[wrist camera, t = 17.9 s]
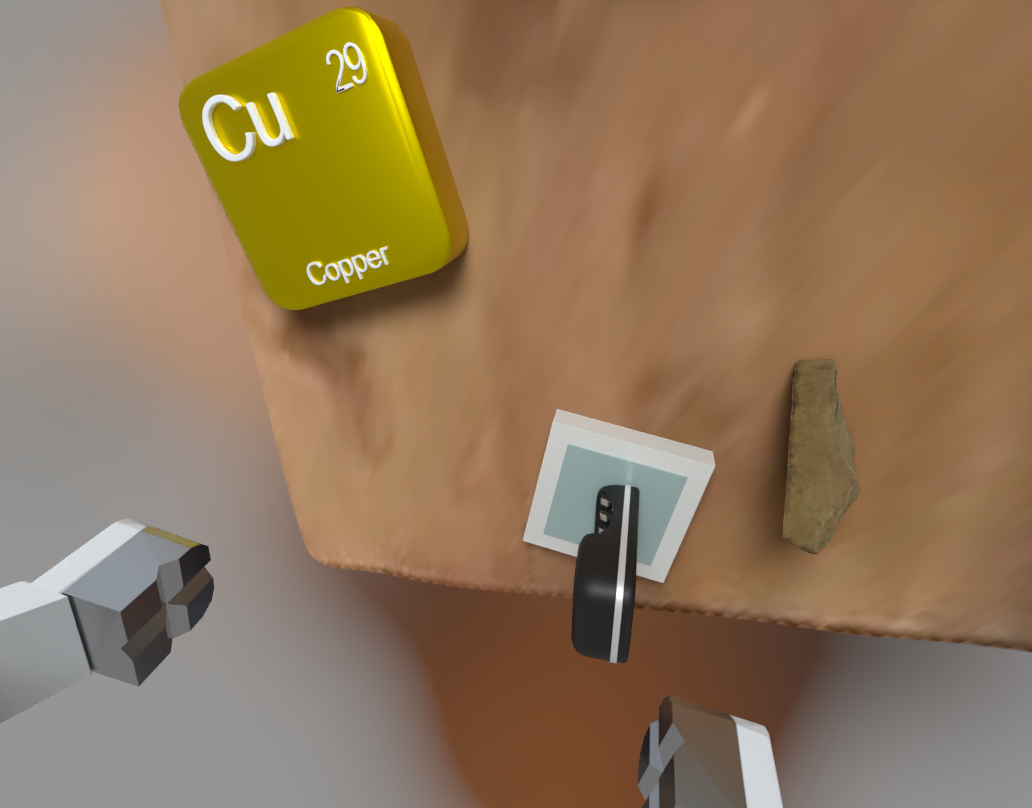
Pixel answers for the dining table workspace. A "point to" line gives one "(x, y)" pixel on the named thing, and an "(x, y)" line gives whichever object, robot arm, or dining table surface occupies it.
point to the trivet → (616, 461)
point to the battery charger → (607, 577)
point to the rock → (817, 458)
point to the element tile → (328, 160)
